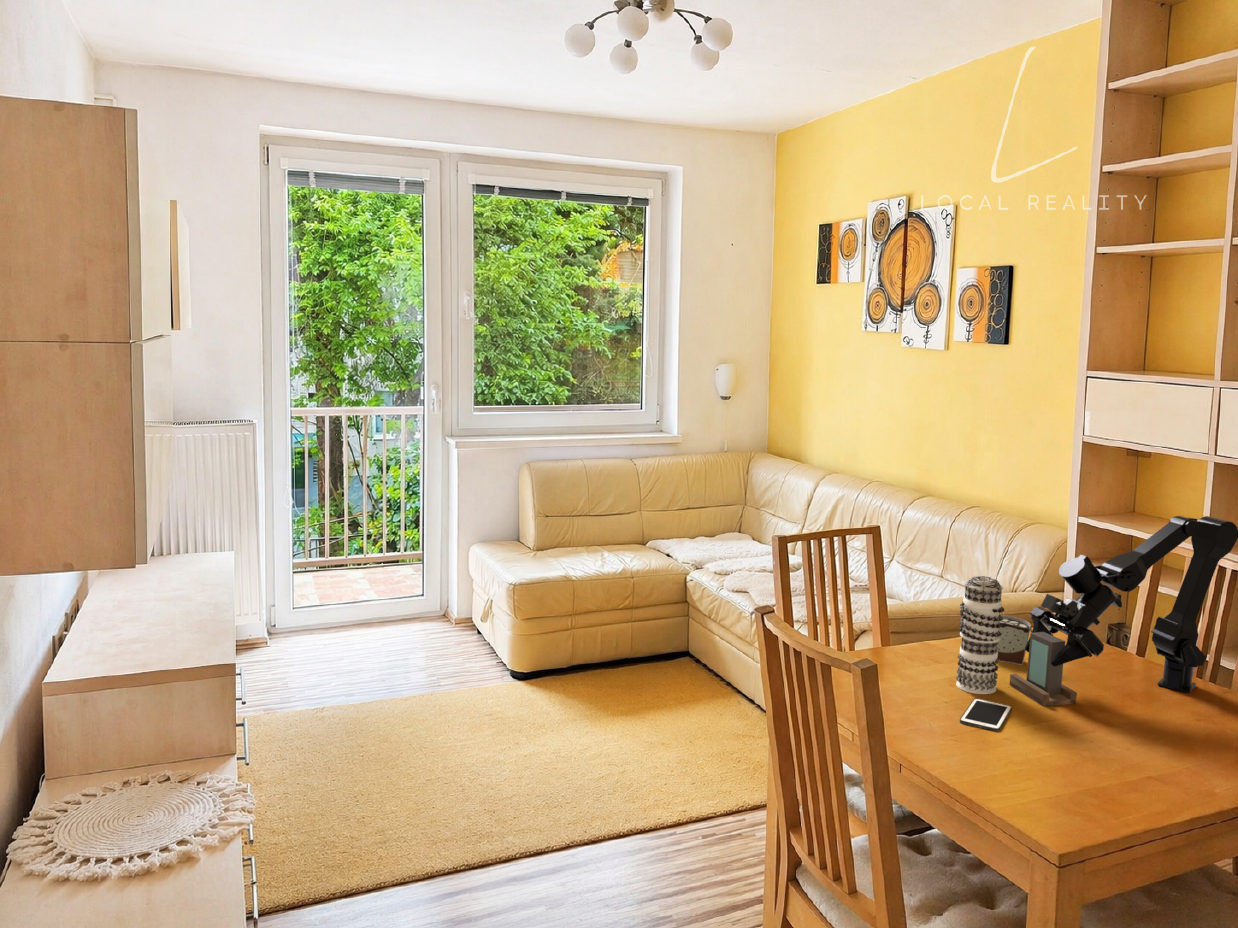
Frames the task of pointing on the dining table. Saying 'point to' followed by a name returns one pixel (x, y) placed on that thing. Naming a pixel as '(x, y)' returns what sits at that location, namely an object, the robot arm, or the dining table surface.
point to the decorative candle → (979, 635)
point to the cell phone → (986, 714)
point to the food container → (1013, 639)
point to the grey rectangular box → (1045, 662)
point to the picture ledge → (1042, 692)
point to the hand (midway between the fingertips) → (1039, 657)
